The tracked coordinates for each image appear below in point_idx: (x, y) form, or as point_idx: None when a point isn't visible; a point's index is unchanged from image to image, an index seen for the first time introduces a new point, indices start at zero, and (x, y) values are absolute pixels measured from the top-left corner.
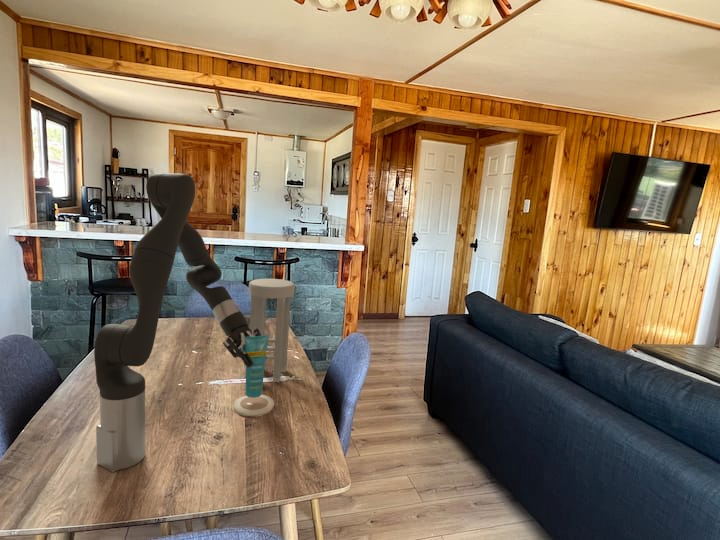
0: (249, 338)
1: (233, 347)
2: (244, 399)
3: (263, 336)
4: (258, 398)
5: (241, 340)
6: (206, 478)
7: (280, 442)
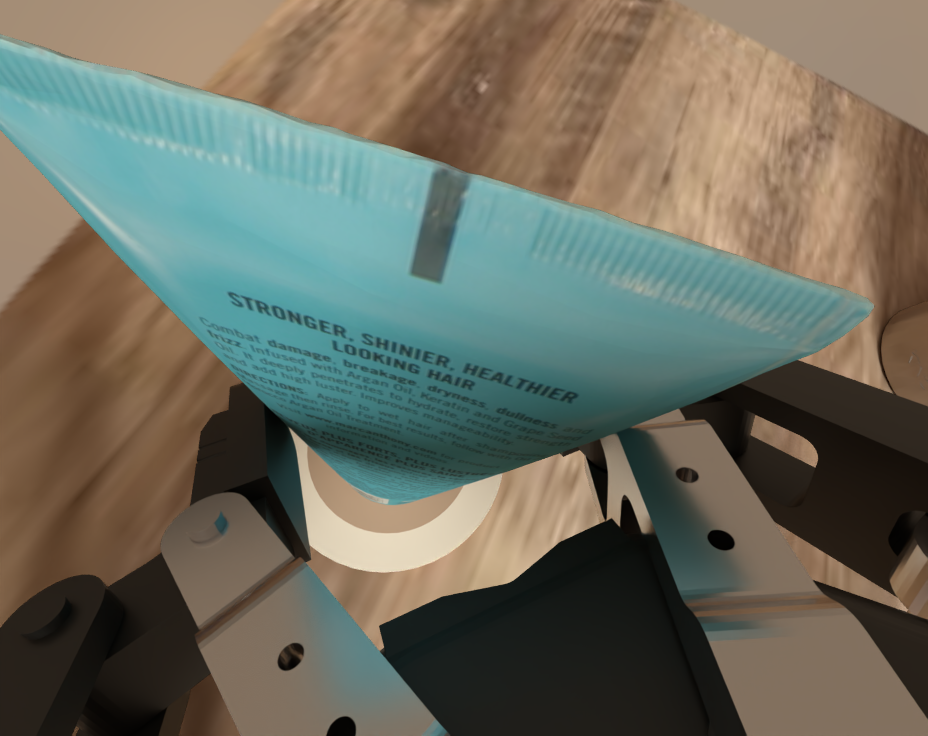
0: (658, 307)
1: (888, 398)
2: (420, 518)
3: (182, 122)
4: (341, 483)
5: (768, 523)
6: (729, 131)
7: (450, 131)
